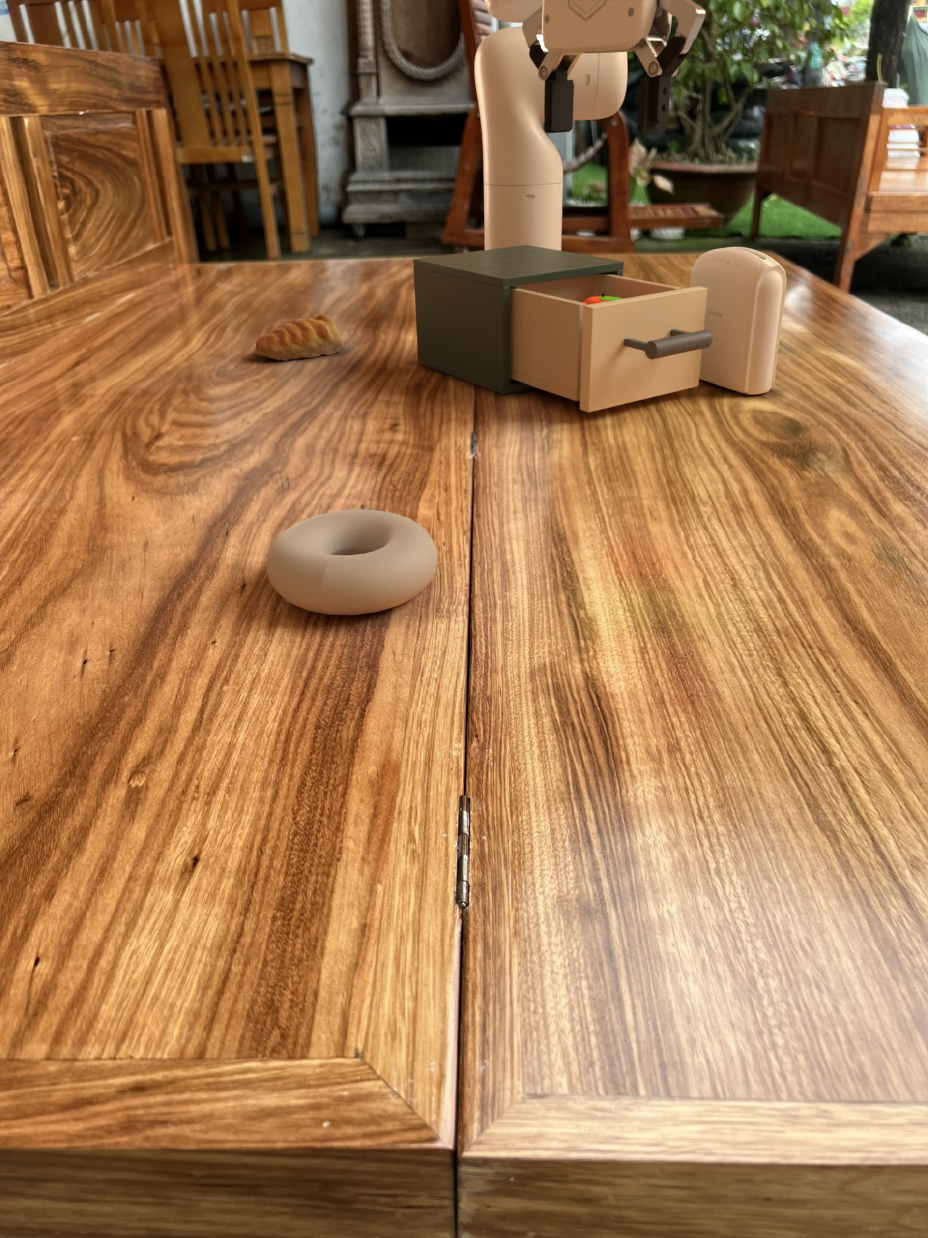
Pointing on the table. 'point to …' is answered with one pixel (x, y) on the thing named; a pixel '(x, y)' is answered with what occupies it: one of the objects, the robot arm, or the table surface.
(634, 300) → the drawer
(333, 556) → the donut
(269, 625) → the table surface
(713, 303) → the photo printer
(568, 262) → the cabinet
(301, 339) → the pastry
